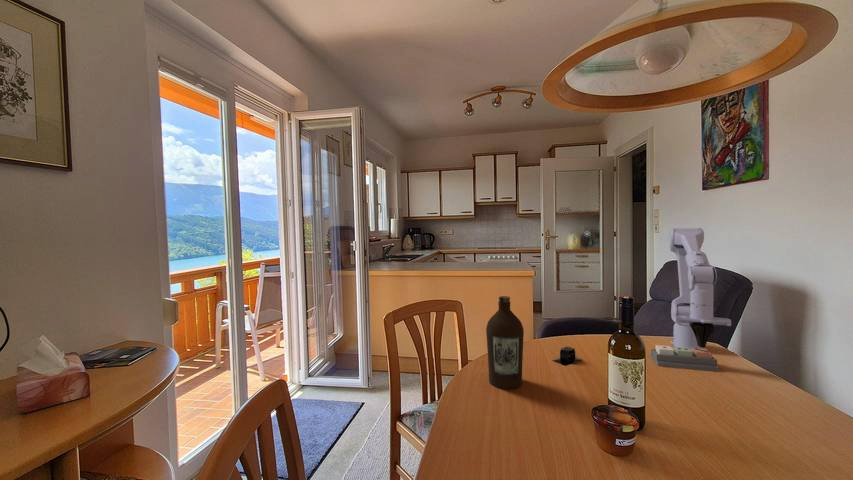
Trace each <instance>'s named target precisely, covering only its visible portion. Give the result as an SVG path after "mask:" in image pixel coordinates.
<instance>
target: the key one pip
mask: <svg viewBox="0 0 853 480" xmlns="http://www.w3.org/2000/svg"><path fill="white" fill-rule="evenodd" d="M655 349H656V352H657V353H658V354H661V355H673V356H674V350H673V347H671V346H670V345H658V344H655Z"/></svg>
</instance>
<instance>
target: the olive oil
mask: <svg viewBox="0 0 853 480" xmlns="http://www.w3.org/2000/svg"><path fill="white" fill-rule="evenodd" d="M524 331H525V330H524V326H523V323H522V321H521V320H520V319H519V317H517V315H515V313H514V312H513V311H512V310H511V297H510V296H508V295H500V296H498V310H497V311H496V312H495V313H494V314H493V315H492V316H491V317H490V318H489V320H488V322H487V324H486V328H485V333H486V348H487V364H488V365H487V366H488V381H489V384H491V386H494V387H495V388H499V389H502V390H503V389H504V390H513V389H517V388H519V387H521V385H523V354H524V353H523V352H524V336H525V335H524V334H525V333H524Z"/></svg>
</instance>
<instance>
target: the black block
mask: <svg viewBox="0 0 853 480" xmlns="http://www.w3.org/2000/svg"><path fill="white" fill-rule="evenodd" d="M551 361H552V362H554V363H557V364H559V365H562V366H563V367H564V366H565V367H566V366H569V365H573V364H576V363H579V362H583V361H584V359H582V358H579V357H577V356H576V349H575V348H573V347H570V346H565V347H561V348H560V351H559V358H556V359H552V360H551Z"/></svg>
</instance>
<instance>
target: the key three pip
mask: <svg viewBox="0 0 853 480" xmlns="http://www.w3.org/2000/svg"><path fill="white" fill-rule="evenodd" d="M691 351H692V352H693V355H694V356H695V357H697V358H709V359H712V357H713V353H712V352H711V351H709V350H708V349H707V348H703V349H700V348H691Z"/></svg>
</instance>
